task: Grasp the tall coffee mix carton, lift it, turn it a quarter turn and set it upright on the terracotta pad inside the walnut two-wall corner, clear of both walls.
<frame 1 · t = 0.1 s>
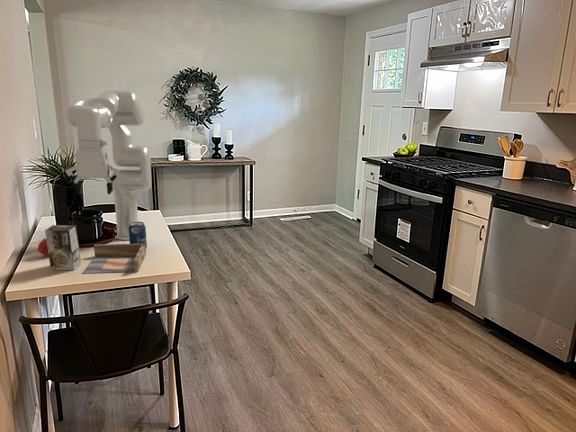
hand: (95, 193, 149), 31 cm above the table, tool pointing down, fingers open, 9 cm apart
coffee box: (66, 267, 164), on the table
onion: (47, 256, 173), on the table
corner arena: (116, 263, 168), on the table
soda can: (138, 250, 184), on the table
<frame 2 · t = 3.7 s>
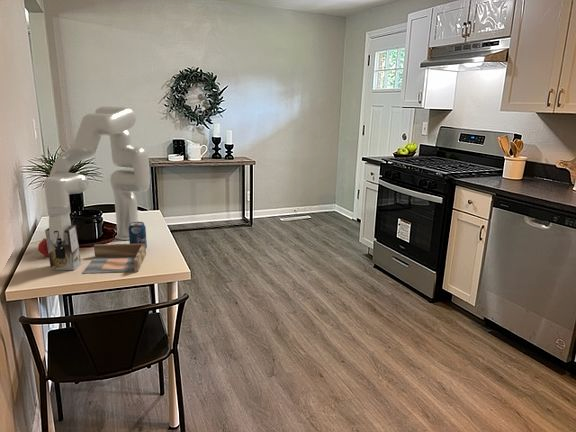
hand: (64, 254, 162), 5 cm above the table, tool pointing down, fingers closed on coffee box, 6 cm apart
coffee box: (66, 267, 164), on the table, touching gripper
everything else where it was.
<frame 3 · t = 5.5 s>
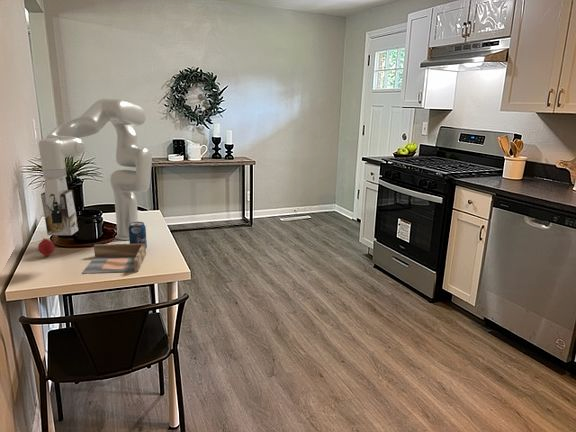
hand: (61, 219, 159), 19 cm above the table, tool pointing down, fingers closed on coffee box, 6 cm apart
coffee box: (63, 233, 161), point 14 cm above the table, touching gripper
everything else where it was.
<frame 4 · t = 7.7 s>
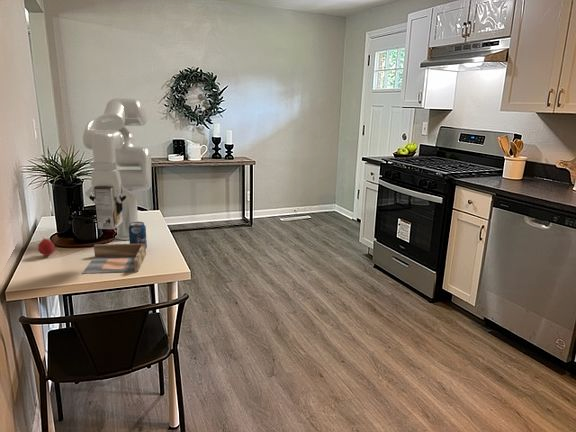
hand: (109, 212, 162), 21 cm above the table, tool pointing down, fingers closed on coffee box, 6 cm apart
coffee box: (110, 225, 163), point 16 cm above the table, touching gripper
everything else where it was.
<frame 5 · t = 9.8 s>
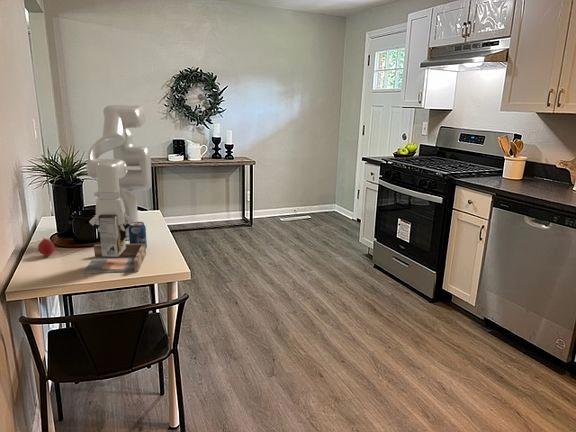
hand: (113, 239, 164), 10 cm above the table, tool pointing down, fingers closed on coffee box, 6 cm apart
coffee box: (114, 252, 166), point 5 cm above the table, touching gripper
everything else where it was.
when the fingers open (7 cm above the table, at t = 11.6 s): coffee box stays where it is, resting on corner arena.
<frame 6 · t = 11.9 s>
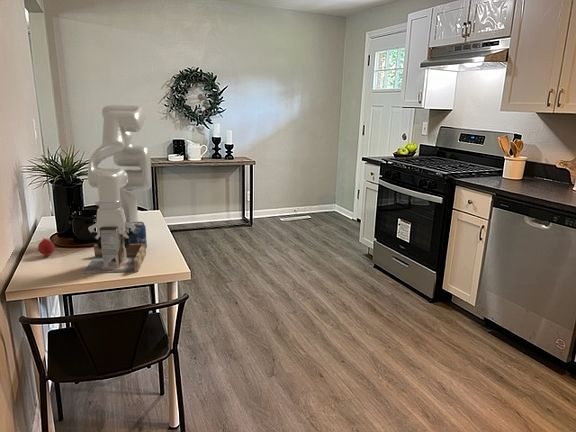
hand: (113, 247, 165), 7 cm above the table, tool pointing down, fingers open, 9 cm apart
coffee box: (115, 263, 168), resting on corner arena
everything else where it was.
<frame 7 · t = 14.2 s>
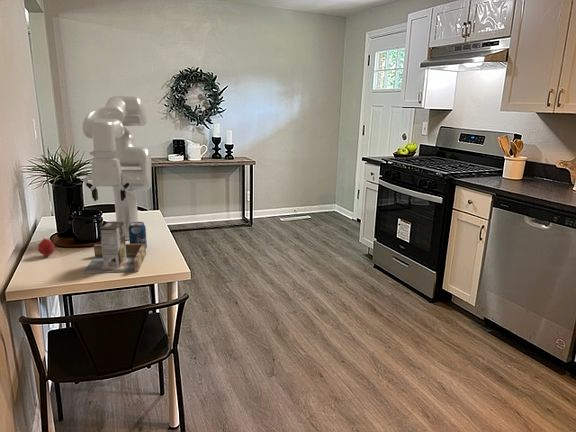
hand: (109, 200, 160), 26 cm above the table, tool pointing down, fingers open, 9 cm apart
nothing on the table moved.
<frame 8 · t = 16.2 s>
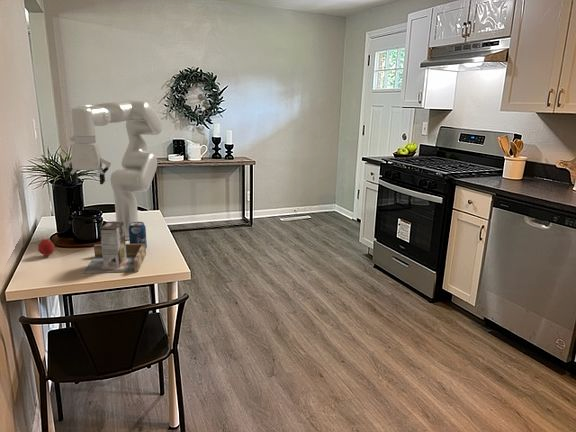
hand: (89, 183, 168), 30 cm above the table, tool pointing down, fingers open, 9 cm apart
nothing on the table moved.
at the end: coffee box inside the target area on the corner arena (0.7 cm from its centre), point 0.2 cm above the corner arena's base; coffee box tilted 0°; the gripper is holding nothing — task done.
